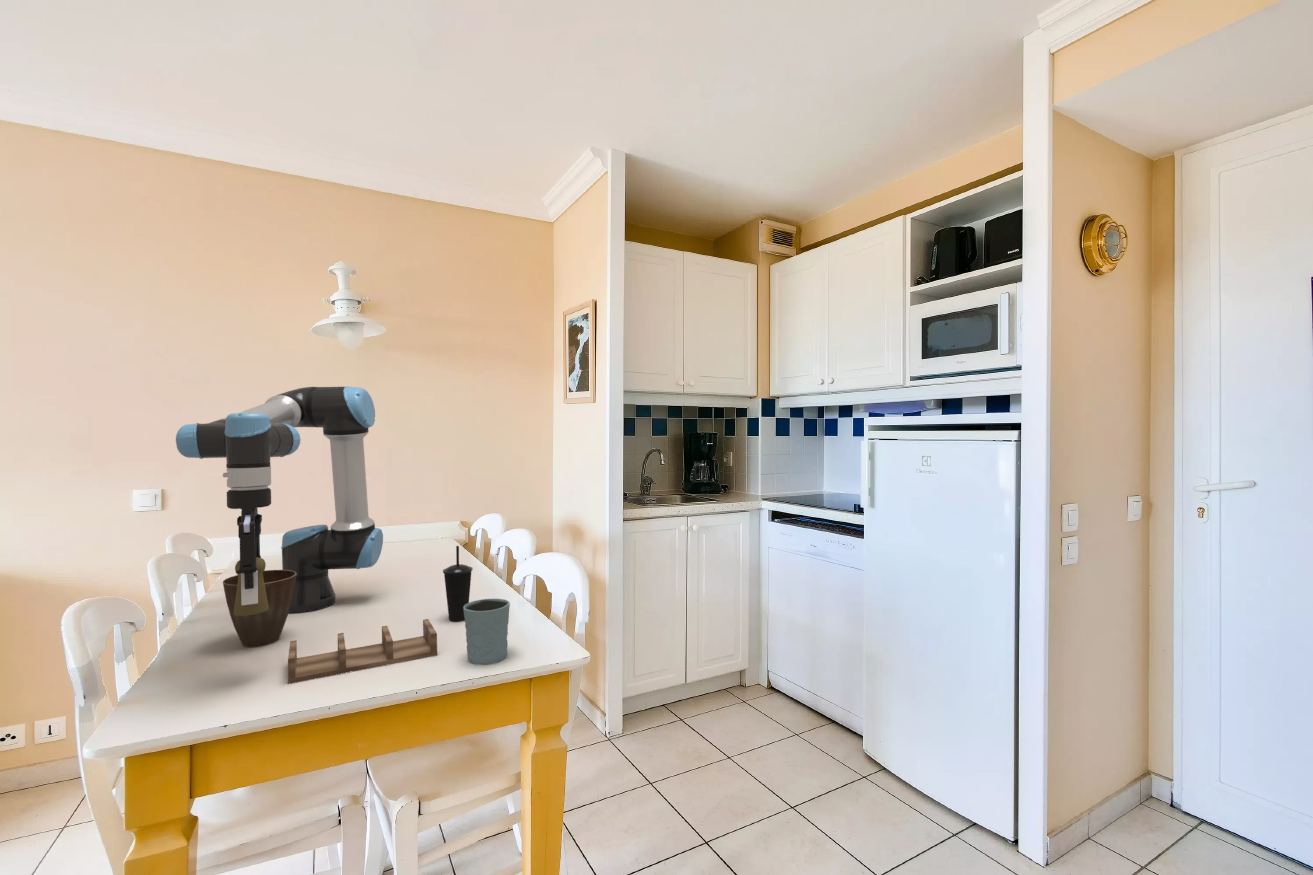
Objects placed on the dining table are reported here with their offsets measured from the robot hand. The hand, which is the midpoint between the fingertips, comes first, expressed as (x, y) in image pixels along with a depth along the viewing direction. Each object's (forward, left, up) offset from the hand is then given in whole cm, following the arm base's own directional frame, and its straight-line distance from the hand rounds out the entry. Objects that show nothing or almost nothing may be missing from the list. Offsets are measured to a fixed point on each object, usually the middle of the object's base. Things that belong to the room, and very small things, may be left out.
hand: (251, 600), depth 120 cm
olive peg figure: (0, 0, -2) cm, 2 cm away
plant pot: (-26, 0, -17) cm, 31 cm away
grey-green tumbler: (+13, +45, -17) cm, 50 cm away
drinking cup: (-18, +45, -17) cm, 51 cm away
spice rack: (0, +21, -17) cm, 27 cm away
